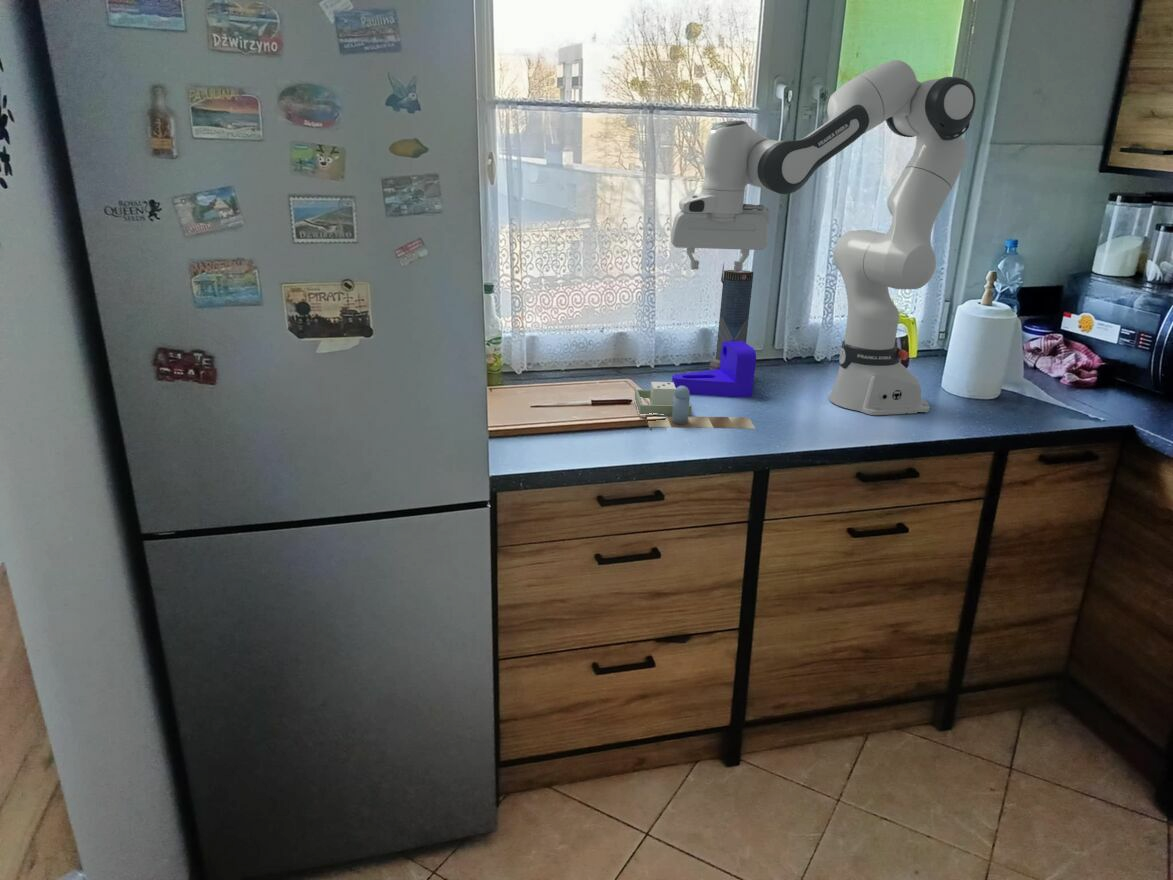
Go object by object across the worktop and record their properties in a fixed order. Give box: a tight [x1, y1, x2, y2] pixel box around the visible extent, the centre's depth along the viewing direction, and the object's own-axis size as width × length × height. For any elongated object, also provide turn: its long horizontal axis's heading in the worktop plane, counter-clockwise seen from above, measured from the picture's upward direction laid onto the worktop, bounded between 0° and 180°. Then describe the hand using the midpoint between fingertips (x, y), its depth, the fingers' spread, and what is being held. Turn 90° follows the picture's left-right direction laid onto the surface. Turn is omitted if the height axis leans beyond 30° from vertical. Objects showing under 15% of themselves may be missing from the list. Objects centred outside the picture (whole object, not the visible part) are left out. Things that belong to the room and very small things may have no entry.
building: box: [708, 263, 754, 370], centre depth 214 cm, size 10×9×30 cm
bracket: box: [671, 341, 757, 398], centre depth 207 cm, size 18×11×12 cm, turn 101°
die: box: [650, 381, 676, 405], centre depth 195 cm, size 5×5×5 cm
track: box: [647, 415, 756, 430], centre depth 188 cm, size 22×7×1 cm, turn 93°
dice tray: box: [634, 389, 692, 416], centre depth 196 cm, size 11×11×3 cm
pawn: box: [672, 386, 691, 424], centre depth 186 cm, size 3×3×8 cm
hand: (716, 269), depth 188 cm, fingers open, 8 cm apart
